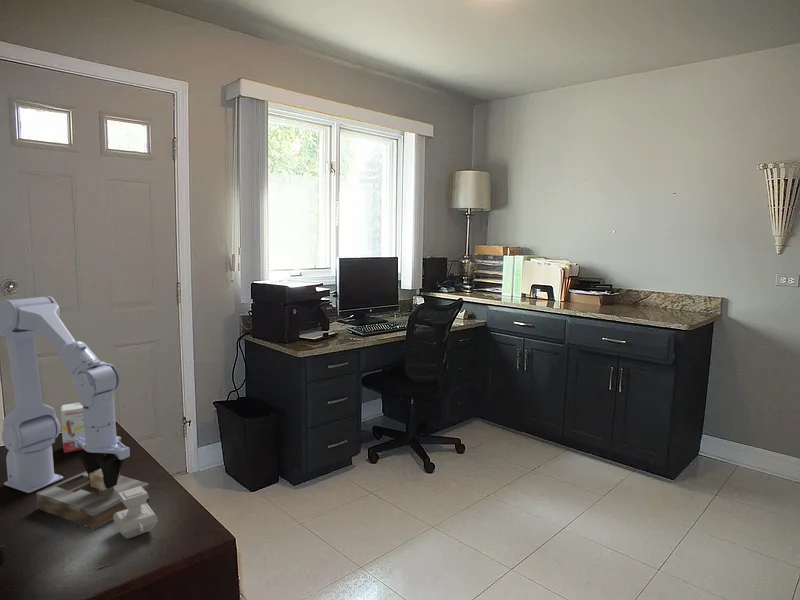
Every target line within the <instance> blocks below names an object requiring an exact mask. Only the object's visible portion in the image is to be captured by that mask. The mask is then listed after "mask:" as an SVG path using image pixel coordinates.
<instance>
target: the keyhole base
mask: <svg viewBox="0 0 800 600" xmlns="http://www.w3.org/2000/svg"><path fill="white" fill-rule="evenodd" d="M81 479H84V480H86V481H87V480H88V481H87V482H85V483H83V484H81V485H78V486H77V487H74V488H72V489H70V490H68V489H64V487H66V486H68V485H71V484H72V483H75V482H77V481H79V480H81ZM120 479H121V482H119V483H117V485H115V486H114V491H113V492H111V493H109V494H107V495H105V496H100V495H99V489H97V488H94V487H91V484H90V479H89V476H88V474H87V471H86V470H85V471H83V472H81V473H78V474H76V475H74V476H71V477H68V478H66V479H64V480H62V481H61V482H60V481H59V482H58V483H55V484H53V485H52V486H49V487H46V488H45V489H42V490H39V491H37V492H35V497H36V509H37V510H39V509H40V511H42V510H43V512H45V511H46V512H45V513H48V514H50V513H51V515H53V514H54V516H56V515H57V516H56V517H59V518H62V517H63V518H62V519H64V518H67V519H69V520H68V521H70V520H72V521H71V522H73V521H74V522H73V523H76V522H77V523H76V524H78V523H80V524H79V525H81V524H82V526H84V525H86V526H85V527H87V526H88V528H89V527H91V528H90V529H92V528H94V529H93V530H96V529H98V528H100V527H101V526H103V525H105V524H106V523H105V522H107V521H109V520H110V521H112V520H113V515H114V513H116V512H119V511H122V510H125V509H127V507H126V506H125V505H124V504H123V502H122V501H121V500H120V499H119V495H118V493H119V492H122V491H125V490H129V489H132V488H135V487H138V486H141V487H142V488H143V489H144V490H145V491H146V492H147V493H148V496H149V498H148V499H149V500H150V497H151V496H150V483H148V482H145V481H141V480H138V479H134V478H131V477H127V476H124V475H121V474H120ZM148 499H147V501H148ZM67 519H66V520H67ZM111 519H112V520H111ZM110 521H109V522H110ZM104 523H105V524H104ZM107 523H108V522H107ZM102 524H103V525H102ZM100 525H101V526H100ZM99 526H100V527H99ZM97 527H98V528H97ZM95 528H96V529H95Z"/></svg>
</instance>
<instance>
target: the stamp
mask: <svg viewBox="0 0 800 600" xmlns="http://www.w3.org/2000/svg"><path fill="white" fill-rule="evenodd" d="M118 495H119V499H120V500H121V501H122V502H123V504H124V505H125V506H126V507H127V509H125V510H122V511H119V512H116V513H114V515H113V519H112V521H113V522H114V524H115V525H116V527H117V529H118V531H119V532H120V534H121V535H122V537H124V538H126V540H128V539H131V538H133V537H136V536H139V535H142V534H145V533H147V532H148V533H149V532H150V531H152V529H154V527H155V526H156V525H157V523H158V522H159V519H158V517H157V516H156V514H155V512H154V511H153V509H152V508H151V507H150V506H149V504H148V503H147V501H148V500H147V499H148V498H149V496H150V495H149V496H148V493H147V492H146V491H145V490H144V489H143V488H142V487H141V486H138V487H135V488H132V489H129V490H125V491H122V492H119V493H118Z"/></svg>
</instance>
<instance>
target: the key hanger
mask: <svg viewBox="0 0 800 600" xmlns="http://www.w3.org/2000/svg"><path fill="white" fill-rule="evenodd" d="M89 474H90V480H89V481H90V484H91V487H94V488H97V489H99V495H100V496H105V495H107V494H109V493H111V492H113V491H114V486H113V487H111V488H109V489H107V488H106V487H105V484H104V478H103V473H102V470H101V468H100V469H98V470H96V471H93V472H91V473H89ZM120 475H121V471H120V472H119V476H118V481H117V483H119V482H121V479H120Z"/></svg>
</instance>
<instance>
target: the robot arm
mask: <svg viewBox="0 0 800 600" xmlns="http://www.w3.org/2000/svg"><path fill="white" fill-rule="evenodd" d="M60 310H61V309H60V306H59V304H58V303H57V301H56V299H54V297H52V296H51V295H44V296H39V297H29V298H20V299H19V298H17V299H5V300H2V301H1V303H0V337H4V338H5V340H6V341H5V342H6V347H7V354H8V361H9V370H10V375H11V377H10V378H11V382H12V390H13V396H14V404H15V405H14V406H15V408H14V409H13V410H12V411H10V412H9V413H8V414H7V415H6V416H5V417H4V418H3V419H2V421H3V422H2V432H1V438H2V443H3V445H4V447H5V448H6V449H7V450H8V451H7V454H6V457H5V461H6V470H7V481H5V482H3V486H7V487H10V488H12V489H15V490H18V491H21V492H24V493H27V494H30V493H33V492H35V491H38V490H40V489H42V488H44V487H46V486H49V485H52V484H54V483H56V482H58V481H61V480H63V479H64V476H63V475H61V474H57V473H55V468H54V465H55V464H54V454H53V444H54V443H56V438H58V436H59V434H60V431H61V424H60V420H58V417H57V413H56V410H55V409H54V407H53V406H50V405H47V404H44V403H43V401H44V400H43V395H42V387H41V380H40V373H39V365H38V359H37V351H36V344H35V343H36V342H35V337H36V336H37V335H38V333H40V334H41V335H42V336H43V337H44V338H45V339H46V340H47V341H48V342H50V344H51V345H53V346H54V347H55V348H56V350H58V351H59V352H58V355H57V359H58V361H59V362H60V364H62V366H63V367H64V368H65V369H66V370H67V372H68V373H69V374H70V376H71V377H73V379H74V382H73V385H74V389H75V392H76V394H77V396H78V403H80V404H81V405H83V417H84V431H85V436H81V437H78V438H75V439H74V442H75V447H76V448H79V447H82V448H83V449H82V451H81V452H78V453H77V454H76V458H77V459H78V460H79V461H80V462H81V463H82V465H83V466H84V467H83V468H84V469H85V471H87V474H88V476H89V479H90V474H89V473H91V472H93V471H96V470H98V469H100V468H101V470H102V473H103V478H104V484H105V487H106V488H107V489H109V488H111V487H113V486H115V485H117V481H118V476H119V472H120V473H121V469H122V465H123V463H124V461H125V459H127V458H129V457H131V455H130V454H131V452H130V451H131V450H130V449H131V448H130V447H128V446H126V445H125V444H123V443H122V442H121V441H122V440H121V439H122V437H121V436H118V435H117V427H116V425H117V423H116V411H115V410H116V409H115V406H116V405H115V392H114V390H116V389H118V387H119V385H120V376H119V372H118V370H117V369H116V366H114V365H113V364H112V363H106V361H102V360H100V359H99V358H98V357H97V355H96V354H95V353H94V352H93V351H92V350H91V349H90V347H89V346H88V345H87V343H85V342H83V341H78V340H77V341H76V339H75V338H74V337H73V335H72V334H71V332H70V331H69V330H68V328H67V327H66V325H65V323H64V322H63V321H62V320H61V319H62V318H60V314H61V311H60Z"/></svg>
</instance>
